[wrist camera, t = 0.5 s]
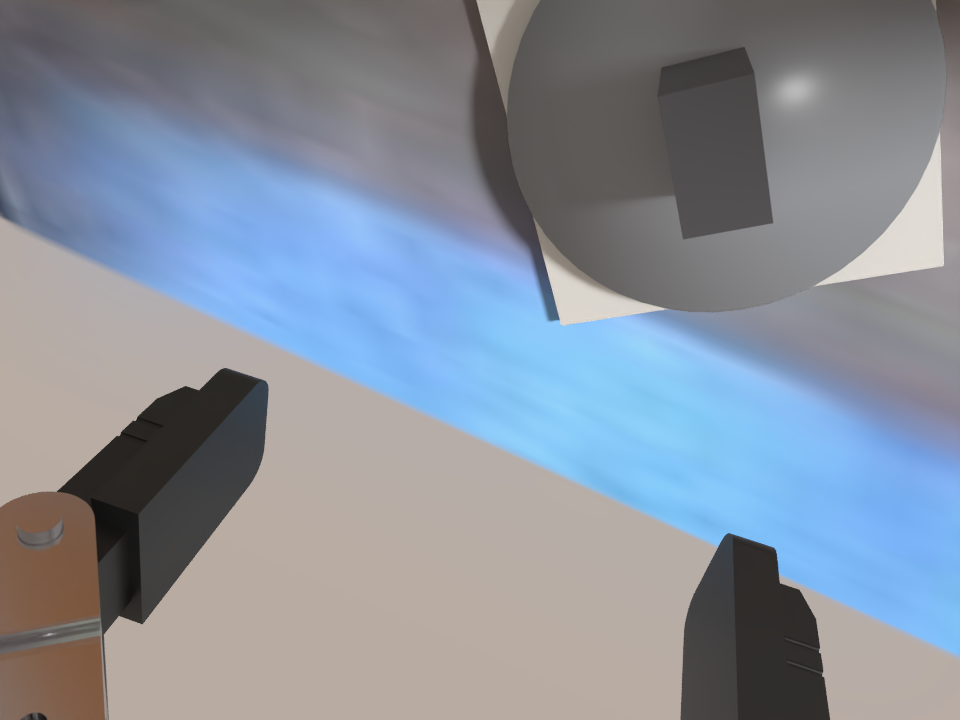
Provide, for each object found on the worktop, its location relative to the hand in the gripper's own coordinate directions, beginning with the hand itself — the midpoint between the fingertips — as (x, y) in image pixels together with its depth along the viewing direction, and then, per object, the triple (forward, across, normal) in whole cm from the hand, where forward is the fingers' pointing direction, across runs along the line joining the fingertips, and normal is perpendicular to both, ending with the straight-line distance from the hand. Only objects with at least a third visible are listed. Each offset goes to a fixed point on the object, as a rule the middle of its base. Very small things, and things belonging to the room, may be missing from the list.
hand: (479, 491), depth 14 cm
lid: (+23, -3, -2) cm, 24 cm away
